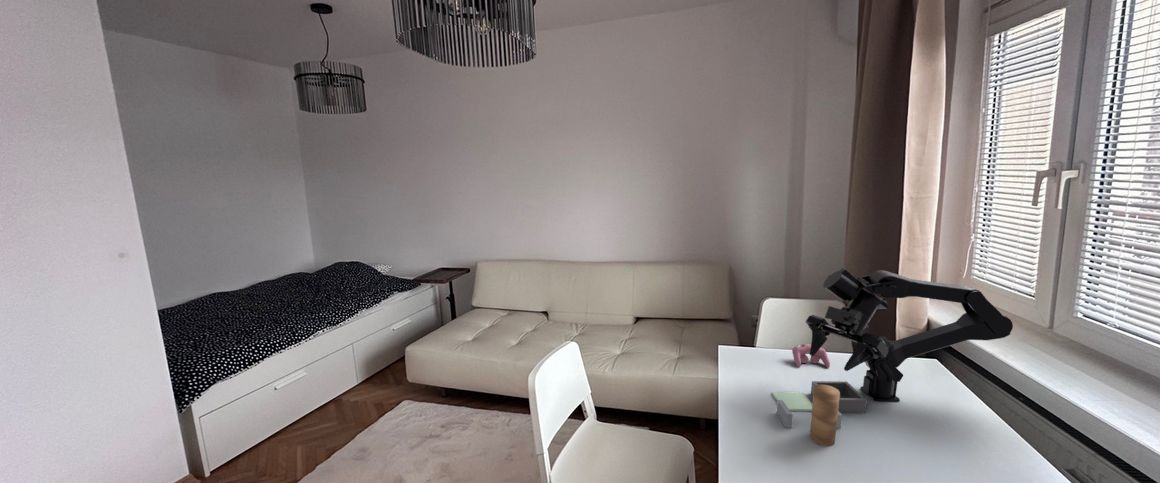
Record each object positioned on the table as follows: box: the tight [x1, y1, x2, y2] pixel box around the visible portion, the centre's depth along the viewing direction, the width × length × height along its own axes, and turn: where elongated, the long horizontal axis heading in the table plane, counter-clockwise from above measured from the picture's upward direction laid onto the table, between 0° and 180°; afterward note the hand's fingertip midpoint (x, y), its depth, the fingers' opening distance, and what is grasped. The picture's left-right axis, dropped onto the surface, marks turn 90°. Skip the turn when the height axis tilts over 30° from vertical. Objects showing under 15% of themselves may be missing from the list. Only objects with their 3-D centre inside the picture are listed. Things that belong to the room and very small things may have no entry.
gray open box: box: [810, 380, 868, 414], centre depth 112 cm, size 9×9×4 cm
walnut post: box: [809, 384, 840, 447], centre depth 97 cm, size 5×5×12 cm
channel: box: [776, 400, 843, 430], centre depth 105 cm, size 12×6×4 cm, turn 87°
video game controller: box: [791, 343, 831, 369], centre depth 133 cm, size 10×5×7 cm, turn 85°
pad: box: [771, 391, 813, 412], centre depth 113 cm, size 8×8×1 cm
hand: (827, 362), depth 109 cm, fingers open, 9 cm apart
